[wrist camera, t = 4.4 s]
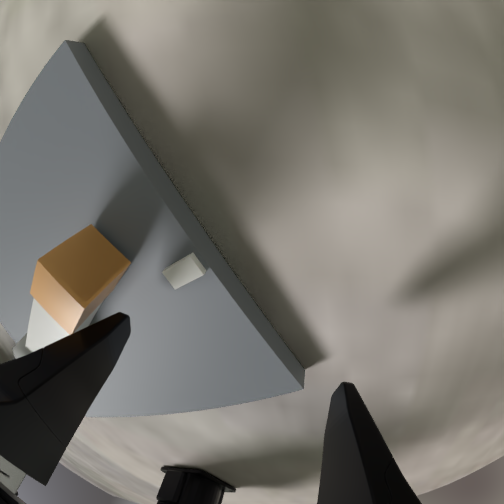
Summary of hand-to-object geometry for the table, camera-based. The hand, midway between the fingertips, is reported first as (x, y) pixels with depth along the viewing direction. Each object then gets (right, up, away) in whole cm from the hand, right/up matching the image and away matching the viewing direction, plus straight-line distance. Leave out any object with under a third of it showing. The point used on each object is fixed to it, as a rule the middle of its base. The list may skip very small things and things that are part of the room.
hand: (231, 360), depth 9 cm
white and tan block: (-8, +1, +3) cm, 9 cm away
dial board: (-10, +1, +5) cm, 11 cm away
